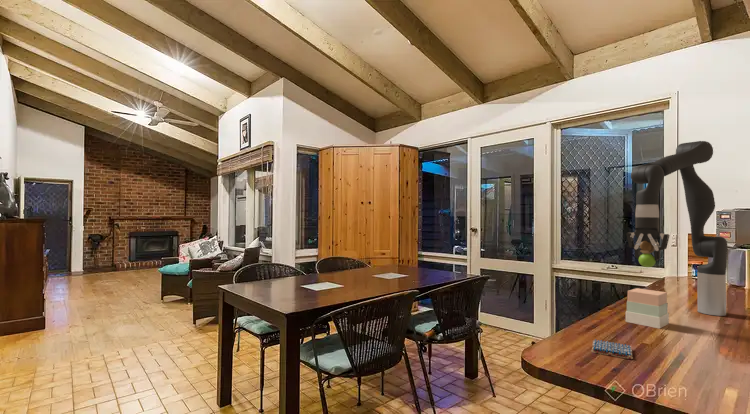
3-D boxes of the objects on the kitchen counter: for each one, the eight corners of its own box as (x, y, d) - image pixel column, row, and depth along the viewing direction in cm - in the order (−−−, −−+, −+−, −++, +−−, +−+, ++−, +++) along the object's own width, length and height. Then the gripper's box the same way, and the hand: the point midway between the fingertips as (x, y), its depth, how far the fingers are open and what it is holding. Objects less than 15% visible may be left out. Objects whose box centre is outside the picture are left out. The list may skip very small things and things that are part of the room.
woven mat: (631, 351, 116) (631, 344, 116) (633, 361, 107) (633, 354, 107) (592, 344, 122) (592, 338, 122) (591, 354, 113) (591, 347, 113)
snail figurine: (661, 268, 144) (661, 236, 144) (644, 268, 144) (644, 236, 144) (651, 266, 149) (651, 236, 150) (635, 266, 149) (635, 236, 150)
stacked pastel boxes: (635, 317, 154) (635, 287, 155) (668, 323, 146) (668, 292, 146) (625, 321, 147) (625, 290, 148) (659, 328, 139) (659, 295, 139)
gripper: (672, 216, 144) (672, 261, 144) (629, 216, 155) (629, 257, 155) (666, 216, 139) (666, 262, 139) (622, 216, 151) (622, 258, 150)
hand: (647, 259), depth 147 cm, fingers closed on snail figurine, 5 cm apart
